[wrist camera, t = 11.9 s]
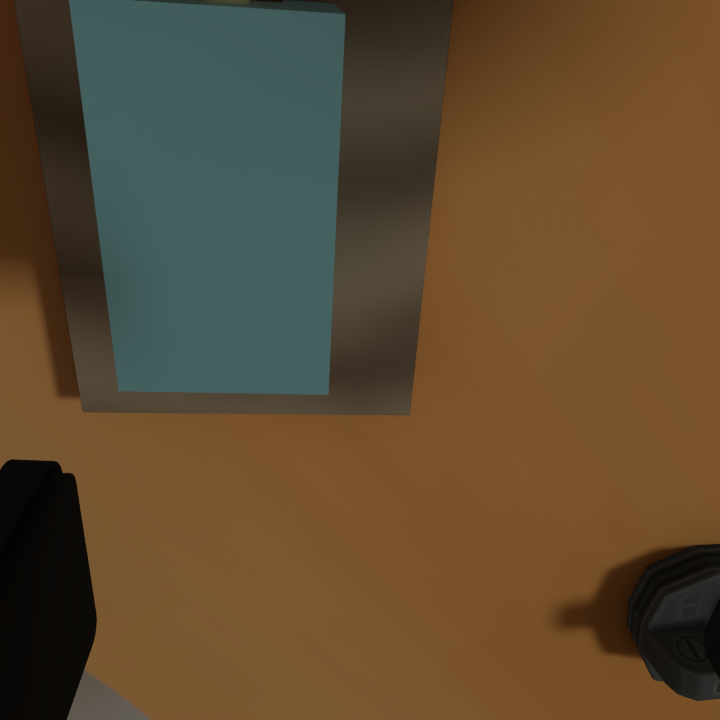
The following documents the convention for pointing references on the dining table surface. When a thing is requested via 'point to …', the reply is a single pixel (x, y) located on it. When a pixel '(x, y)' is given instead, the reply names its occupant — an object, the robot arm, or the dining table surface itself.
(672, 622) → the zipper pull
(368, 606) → the dining table surface
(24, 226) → the dining table surface
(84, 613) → the robot arm
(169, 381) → the cabinet
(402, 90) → the board
